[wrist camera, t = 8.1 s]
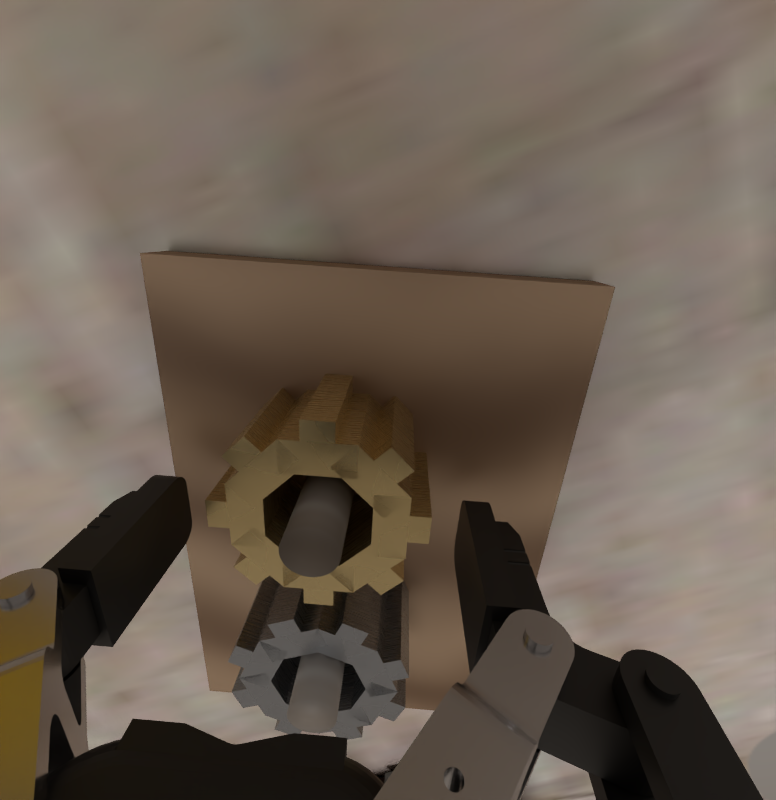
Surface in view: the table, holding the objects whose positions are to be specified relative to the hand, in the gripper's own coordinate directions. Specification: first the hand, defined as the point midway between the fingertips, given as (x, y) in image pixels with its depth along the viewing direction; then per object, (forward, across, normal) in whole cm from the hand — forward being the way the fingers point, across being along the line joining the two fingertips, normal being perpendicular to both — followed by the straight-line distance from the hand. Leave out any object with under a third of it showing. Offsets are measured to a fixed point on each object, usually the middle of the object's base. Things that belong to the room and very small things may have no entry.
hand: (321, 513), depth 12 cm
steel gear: (+3, 0, +7) cm, 7 cm away
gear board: (+4, -1, +3) cm, 6 cm away
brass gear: (+3, 0, 0) cm, 3 cm away
